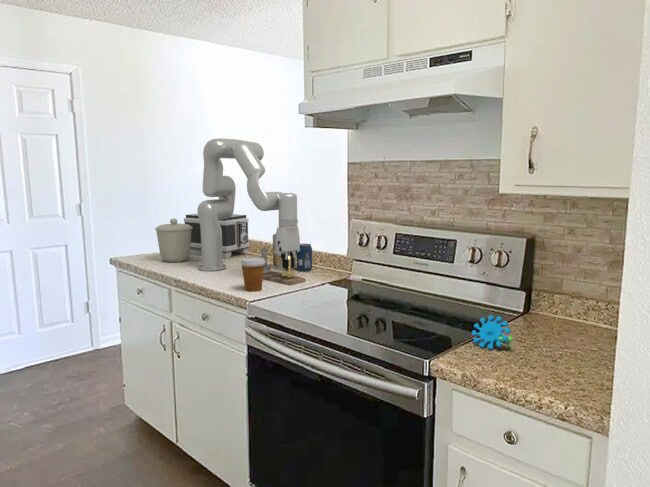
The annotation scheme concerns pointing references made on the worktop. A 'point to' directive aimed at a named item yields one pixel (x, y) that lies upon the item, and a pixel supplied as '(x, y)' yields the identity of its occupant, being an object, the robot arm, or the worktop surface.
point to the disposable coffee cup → (253, 273)
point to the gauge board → (277, 273)
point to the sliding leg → (288, 270)
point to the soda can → (304, 258)
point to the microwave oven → (231, 235)
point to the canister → (174, 241)
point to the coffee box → (278, 257)
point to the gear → (492, 333)
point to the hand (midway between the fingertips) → (288, 267)
